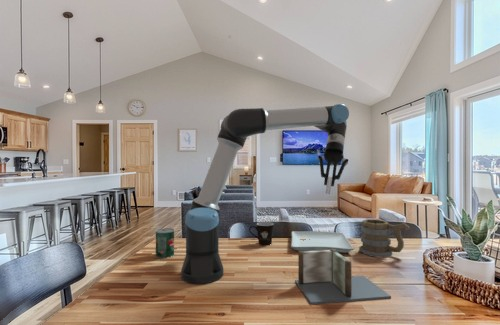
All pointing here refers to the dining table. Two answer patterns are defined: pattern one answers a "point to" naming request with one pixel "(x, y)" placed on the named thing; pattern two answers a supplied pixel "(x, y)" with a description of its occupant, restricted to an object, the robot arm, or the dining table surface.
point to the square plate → (320, 241)
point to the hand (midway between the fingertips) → (327, 192)
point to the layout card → (332, 293)
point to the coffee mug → (264, 232)
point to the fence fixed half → (315, 266)
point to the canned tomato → (164, 243)
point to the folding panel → (342, 273)
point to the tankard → (380, 238)
